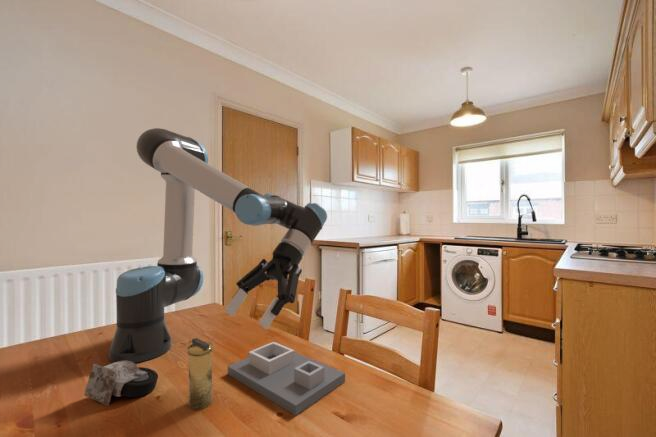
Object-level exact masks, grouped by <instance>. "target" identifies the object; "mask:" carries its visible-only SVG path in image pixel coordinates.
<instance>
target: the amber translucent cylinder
mask: <svg viewBox="0 0 656 437" xmlns="http://www.w3.org/2000/svg"><path fill="white" fill-rule="evenodd" d="M191 343H192V344H190V345H189V346H188V347H187V355H188V408H189V409H191V410H192V411H193V410H194V411H200V410H204V409H206V408H207V407H209V406H211V404H212V403H213V382H212V381H213V360H212V359H213V358H212V357H213V354H212V352H213V349H214V345H213V343H212V342H210V341H208V340H207V341H203V340H201V339H199V338H197V337H195V338H192V339H191Z"/></svg>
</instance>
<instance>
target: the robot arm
mask: <svg viewBox="0 0 656 437" xmlns="http://www.w3.org/2000/svg"><path fill="white" fill-rule="evenodd" d="M135 147H136V152H137V156H139V158H140V159H141V160H142V161H143V163H145V165H148V166H149V167H151V168H153V169H154V170H156V171H157V172H160V177H161V178H162V179H163V180H164V181H165V200H164V201H165V202H164V224H163V225H164V226H163V227H164V228H163V248H162V249H163V254H162V256H161V258H159V259H158V260H157V265H149V266H143V267H136V268H133V269H129V270H126V271H124V272H123V273H121V274H119V275H118V277H117V279H116V288H115V297H116V299H115V302H116V304H115V305H116V329H115V332H114V335H113V338H112V341H111V344H110V346H109V349H108V358H109V361H110V362H112V363H115V362H118V361H131V362H133V363H135V364H136V363H141V362H145V361H149V360H153V359H155V358H158V357H159V356H161V355H164V354H165V353H167V352H168V351H169V350H170V349H171V347H172V338H171V335H170V332H169V328H168V327H167V324H166V321H165V308H166V307H169V306H171V305H174V304H177V303H180V302H183V301H186V300H189V299H190V298H191V297H194V296H196V295H197V294H198V293H199V292H200V290H201V289H202V286H203V283H204V274H203V271H202V270H201V267H200V266H199V265H198V264H197V262H198V260H197V259H196V258H195V256H193V242H194V219H195V218H194V215H195V197H196V196H195V192H196V191H197V192H200V193H202V194H203V195H204V196H206V197H208V198H210V199H211V200H213V201H215V202H216V203H218V204H219V205H222V206H223V207H224V208H226V209H228V210H230V211H231V212H233V213H235V215H236V217H237V219H238V220H239V221H240V223H242V224H244V225H248V226H249V225H250V226H255V227H256V226H257V227H258V226H262V225H273V224H274V225H279V226H282V227H283V228H286V229H287V231H286V233H285V234H284V236H283V237H282V238H281V240H280V242H278V244H277V246H276V247H275V248H274V249H273V251H272V259H271V260H269V261H267V260H266V259H265V258H263V259H261V261H259V263H258V265H256V266H254V267H253V269H251V270H250V271H249V272H248V273H247V274H245V275H244V276H243V277H242V278H240V279H239V280H238V281H236V286H237V287H238V289H237V291H236V293H235V294H234V295H233V296H232V297H231V300H230V302H229V303H228V304H227V306H225V308H224V309H223V311H224V312H225V313H227V315H229V316H230V317H231V318H232V317H234V315H235V314H236V312H237V311H238V310H239V308H240V307H241V306H242V304H243V303H244V301H245V299H247V296H248V295H249V292H250V291H252V290H253V289H255V288H256V287H258V286H260V285H261V284H262V283H264V282H266V281H271V280H272V281H277V295H275V296H276V297H273V299H272V301H271V302H270V303H269V305H268V307H267V308H266V310H265V311H264V313H263V315H262V316H261V317H260V319H259V320H258V322H257V323H258V324H259V326H261V327H262V328H263V329H264V330H269V329H270V326H271V325H272V323H273V321H274V320H275V318H276V316H278V315H279V314H280V313H281V311H282V309H283V307H284V306H286V305H287V304H288V303H289V304H294V303H295V301H296V295H297V291H298V285H299V279H300V276H301V274H302V271H303V270H302V269H301V267H300V266H299V264H300V263H301V261H302V260H303V257H304V256H305V255H306V253H307V252H308V250H309V248H310V247H311V245H312V243H313V242H314V240H315V239H316V238H317V236H318V235H319V233H320V232H321V230H322V229H323V226H324V225H325V223H326V222H327V219H328V213H327V211H326V209H325V208H324V207H323V206H322V205H320V204H319V203H316V202H309V203H307V204H305V205H304V206H301V205H298V204H296V203H293V202H291V201H290V200H287V199H285V198H282V197H281V196H280V195H276V194H274V193H271V192H270V193H269V192H267V193H265V194H264V195H263V194H261V193H259V192H258V191H256V190H254V189H252V188H250V187H249V186H247V185H246V184H244V183H242V182H240V181H238V180H236V179H235V178H233V177H231V176H230V175H228V174H227V173H224V172H223V171H222V170H220V169H217V168H216V167H214V166H213V165H211V164H210V163H209V154H208V152H207V149H206V148H205V146H204V145H203V144H202V143H201V142H199V141H198V140H195V139H194V138H192V137H189V136H184V135H182V134H179V133H176V132H173V131H171V130H168V129H164V128H159V127H158V128H157V127H156V128H154V127H153V128H151V129H150V128H149V129H147V130H145V131H144V132H142V133H141V134H140V135H139V137H138V138H137V141H136V146H135ZM195 190H196V191H195Z"/></svg>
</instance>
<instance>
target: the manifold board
mask: <svg viewBox="0 0 656 437" xmlns="http://www.w3.org/2000/svg"><path fill="white" fill-rule="evenodd" d="M227 375H229V376H230V377H232V378H233V379H235V380H236V381H238V382H240V383H242V384H243V385H245V386H246V387H248V388H250V389H251V390H253V391H254V392H256V393H258V394H260V395H261V396H263V397H264V398H266V399H267V400H269V401H271V402H273V403H275V404H276V405H278V406H279V407H281V408H282V409H285V410H286V411H287V412H289V413H291V414H293V415H294V416H298V415H299V414H301V413H302V412H303V411H305V410H306V409H308V408H309V407H311V405H314V404H315V403H316V402H318V401H319V400H320V399H322V398H323V397H325V396H326V395H328V394H329V393H331V392H332V391H333V390H335V389H336V388H338V387H340V386H341V385H342V384H344V383H345V382H346V372H344V371H341V370H339V369H337V368H334V367H332V366H329V365H327V364H324V363H322V362H320V361H317V360H315V359H313V358H310V357H309V356H306V355H303V354H301V353H298V352H295V349H292V348H290V347H288V346H285V345H282V344H280V343H278V342H275V341H272V342H269V343H267V344H265V345H261V346H259V347H257V348H255V349H252V350H250V351H248V357H246V358H244V359H241V360H239V361H236V362H233V363H232V364H230V365H227Z"/></svg>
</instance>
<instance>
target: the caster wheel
mask: <svg viewBox="0 0 656 437" xmlns="http://www.w3.org/2000/svg"><path fill="white" fill-rule="evenodd" d="M158 379H159V374H158V373H157V371H155V370H153V369H151V368H148V367H142V366H138V365H137V364H136V363H133V362H131V361H118V362H112V363H110V364H107V365H104V366H101V365H100V364H97V363H93V364H92V367H91V371H90V374H89V376H88V379H87V380H88V381H87V383H86V386H85V390H84V393H83V394H84V395H83V396H85V397H88V398H90V399H92V400H93V401H96V402H98V403H99V404H101V405H104V406H108V407H109V405H110V402H111V398H112V396H114V397H120V398H122V397H128V398H129V397H130V398H136V397H143V396H146V395H149V394H151V393H152V392H153V391H154V390H155V388H156V385H157V381H158Z"/></svg>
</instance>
